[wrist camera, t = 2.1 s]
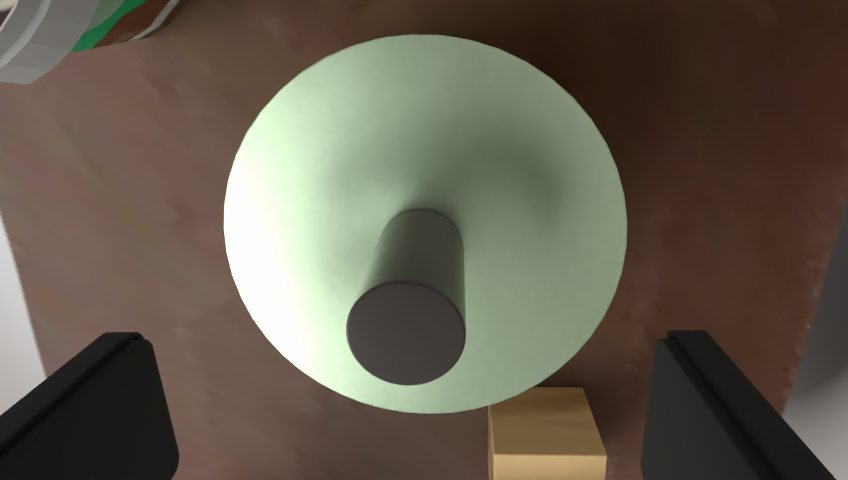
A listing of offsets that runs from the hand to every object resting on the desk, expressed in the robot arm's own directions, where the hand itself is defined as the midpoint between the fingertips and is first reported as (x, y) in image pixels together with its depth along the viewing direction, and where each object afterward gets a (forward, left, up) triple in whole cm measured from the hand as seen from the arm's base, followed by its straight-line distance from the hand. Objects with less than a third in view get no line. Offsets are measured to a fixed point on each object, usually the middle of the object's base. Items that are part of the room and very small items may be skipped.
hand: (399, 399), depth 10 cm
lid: (0, 0, -7) cm, 7 cm away
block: (+14, +5, -16) cm, 21 cm away
